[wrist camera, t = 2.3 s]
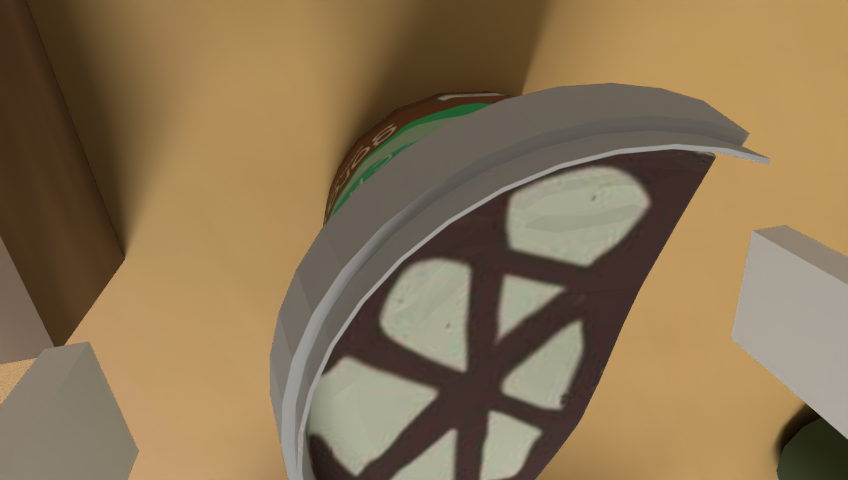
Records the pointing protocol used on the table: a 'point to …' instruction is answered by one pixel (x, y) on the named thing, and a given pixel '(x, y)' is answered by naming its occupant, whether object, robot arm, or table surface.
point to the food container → (480, 277)
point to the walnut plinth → (44, 202)
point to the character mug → (815, 454)
